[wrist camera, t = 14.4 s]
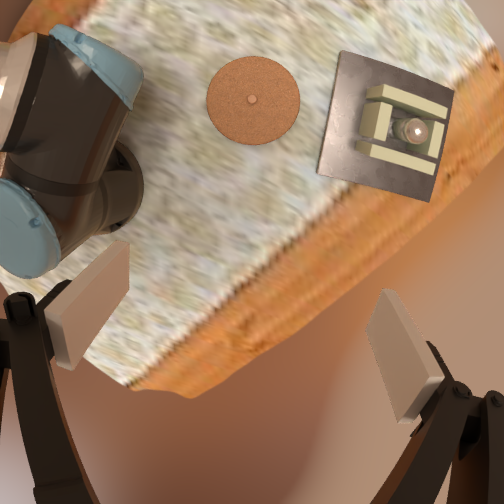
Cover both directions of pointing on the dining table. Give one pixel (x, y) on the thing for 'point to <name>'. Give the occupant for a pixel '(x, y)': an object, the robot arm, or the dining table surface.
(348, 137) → the keeper base
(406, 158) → the square link
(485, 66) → the dining table surface
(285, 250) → the dining table surface
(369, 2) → the dining table surface
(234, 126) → the lidded jar
